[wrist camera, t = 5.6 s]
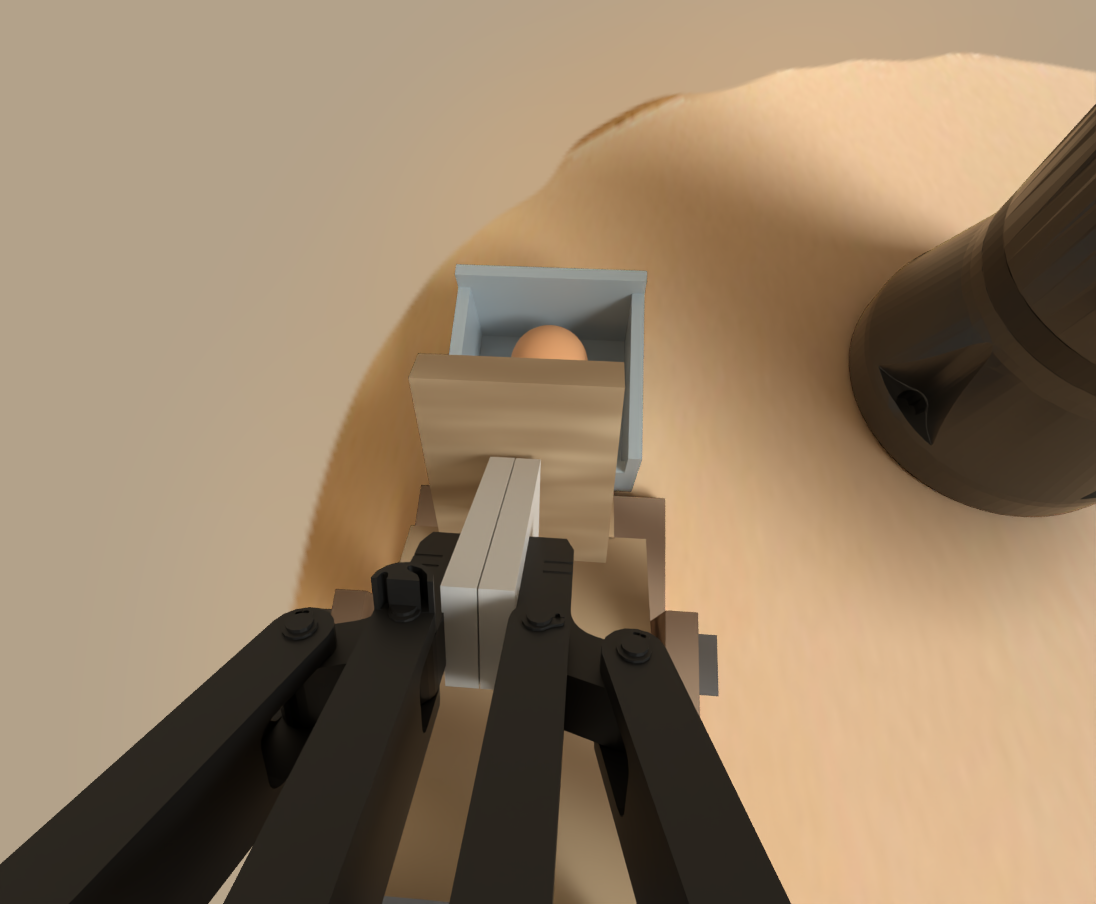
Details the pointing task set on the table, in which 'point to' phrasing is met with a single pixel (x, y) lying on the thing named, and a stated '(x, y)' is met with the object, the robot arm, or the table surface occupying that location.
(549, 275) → the blue open box
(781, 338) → the table surface
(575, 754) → the lever
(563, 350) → the ball
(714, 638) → the catapult stand
